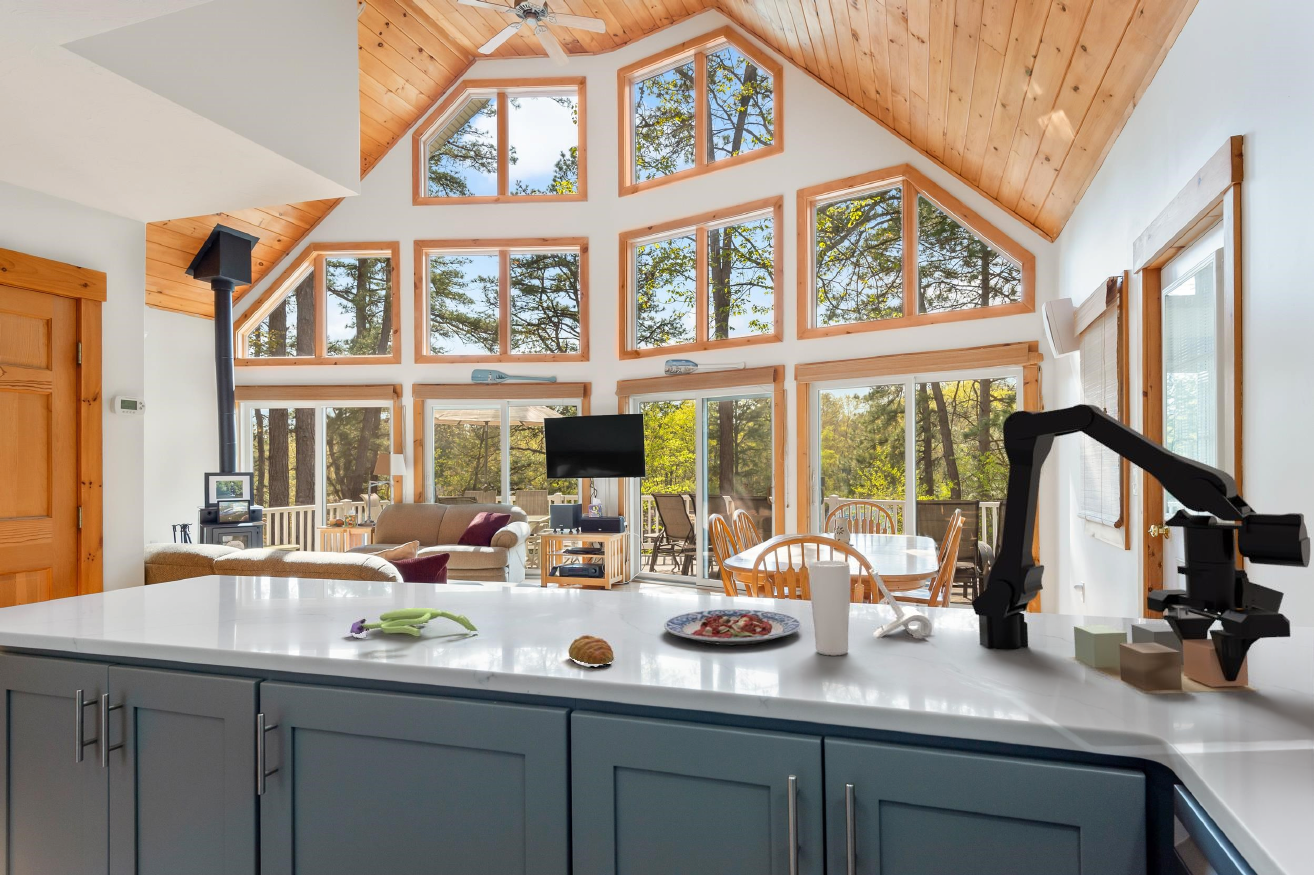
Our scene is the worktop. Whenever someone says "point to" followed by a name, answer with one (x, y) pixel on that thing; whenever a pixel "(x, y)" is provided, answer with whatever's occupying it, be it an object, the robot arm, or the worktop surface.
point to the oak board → (1187, 686)
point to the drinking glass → (830, 605)
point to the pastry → (591, 650)
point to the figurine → (408, 621)
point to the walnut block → (1150, 666)
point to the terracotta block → (1208, 664)
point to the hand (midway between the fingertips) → (1215, 675)
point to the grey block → (1157, 636)
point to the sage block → (1098, 645)
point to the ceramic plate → (732, 626)
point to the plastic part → (902, 615)
